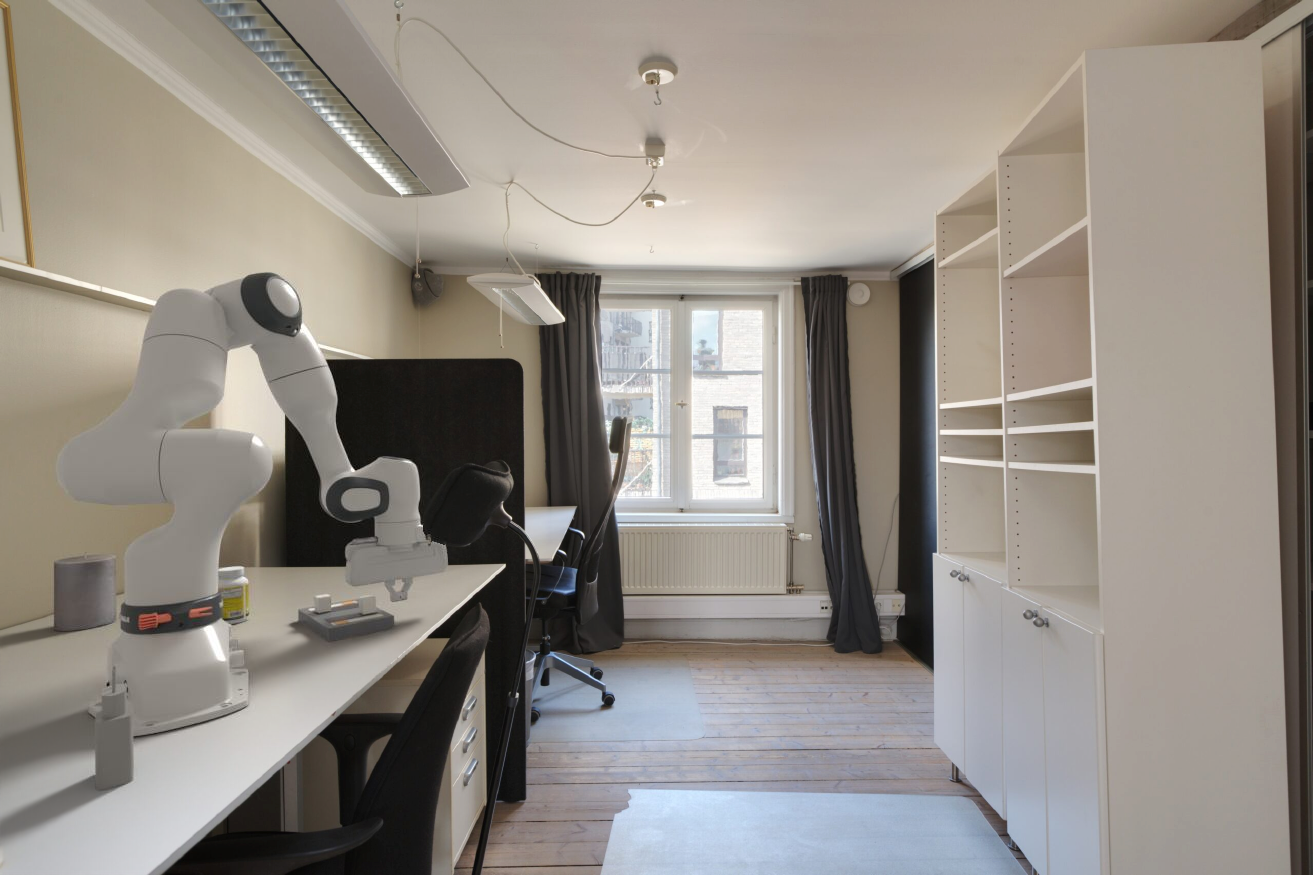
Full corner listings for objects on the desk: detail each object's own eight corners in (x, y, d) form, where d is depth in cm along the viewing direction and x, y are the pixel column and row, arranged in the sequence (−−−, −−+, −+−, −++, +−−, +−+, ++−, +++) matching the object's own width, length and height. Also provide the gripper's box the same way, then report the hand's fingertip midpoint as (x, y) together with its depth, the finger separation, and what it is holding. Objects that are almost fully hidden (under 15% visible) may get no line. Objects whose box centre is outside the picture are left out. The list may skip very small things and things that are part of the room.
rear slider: (331, 610, 130) (330, 595, 130) (318, 613, 128) (318, 598, 128) (327, 608, 132) (327, 593, 132) (314, 610, 130) (314, 595, 130)
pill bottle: (230, 617, 136) (229, 565, 136) (256, 617, 136) (255, 565, 136) (205, 625, 130) (205, 571, 130) (233, 626, 129) (232, 571, 129)
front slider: (375, 612, 128) (375, 597, 128) (363, 614, 127) (363, 599, 127) (371, 609, 130) (371, 595, 130) (358, 612, 129) (358, 597, 129)
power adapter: (133, 762, 74) (132, 658, 74) (133, 781, 69) (131, 671, 69) (97, 771, 72) (96, 664, 72) (95, 792, 67) (93, 678, 67)
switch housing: (394, 627, 126) (394, 615, 126) (328, 641, 118) (328, 628, 118) (358, 609, 141) (358, 598, 141) (298, 620, 132) (298, 608, 132)
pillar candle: (65, 622, 135) (64, 550, 135) (123, 615, 139) (122, 546, 139) (44, 634, 126) (43, 558, 126) (107, 627, 130) (106, 553, 130)
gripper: (350, 541, 124) (351, 613, 124) (450, 530, 138) (451, 594, 138) (339, 538, 128) (340, 607, 128) (437, 527, 142) (438, 589, 142)
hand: (398, 600), depth 133 cm, fingers closed
